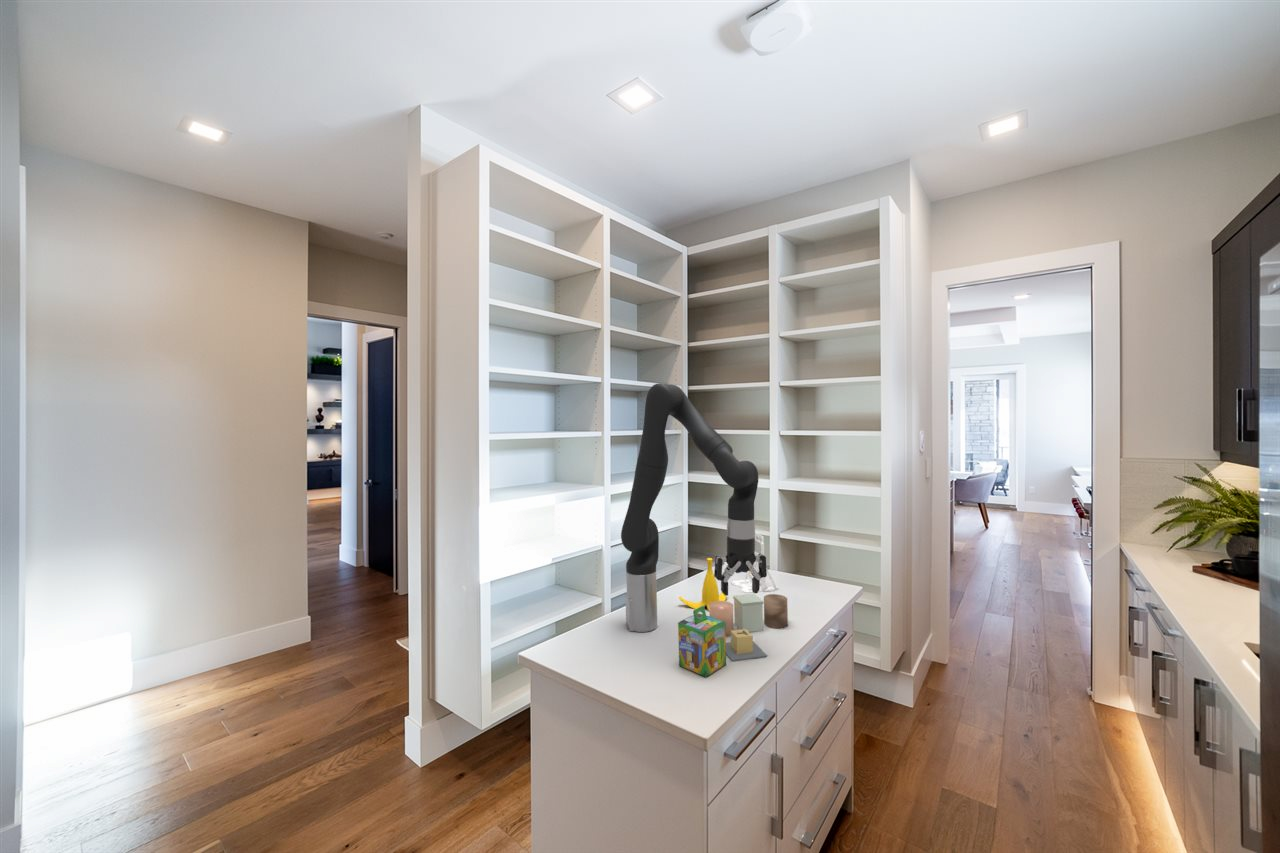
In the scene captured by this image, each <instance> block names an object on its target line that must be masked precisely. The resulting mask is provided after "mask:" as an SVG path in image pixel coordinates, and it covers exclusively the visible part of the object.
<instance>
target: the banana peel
mask: <svg viewBox="0 0 1280 853" xmlns="http://www.w3.org/2000/svg"><path fill="white" fill-rule="evenodd" d="M706 563H707V569H706V574H705V577H704V580H703V584H702V590H701V591H702V592H701V600H700V602H692V601H689V600H686V599H684V598H683V597H681V596H678V599H679V600H680V601H681V603H683V604H685V605H686V606H688V607H689V608H692V609H693V610H695V609H697V608H699V607H701V606H704V608H705V607H706V608H707V610H708V612H709V604H710V603H711V602H714V601H726V600H727V596H728V595H727V596H725V595H724V594H723V593H722V592H721V593H720V592H719V587H718V584H717V579H716V578H715V577H714V572H713V571H714V570H713V558H711V557H707V558H706ZM719 593H720V594H719Z"/></svg>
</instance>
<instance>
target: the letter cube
mask: <svg viewBox="0 0 1280 853" xmlns="http://www.w3.org/2000/svg"><path fill="white" fill-rule="evenodd" d="M753 636H754V635H753V634H751V632H748V631H747V630H746V629H742V630H740V629H736V630H735V629H734V630H733V631H731V636H730V642H731V647H732V649H733V650H734V651H735V652H736V653H737V654H743V653H751V652H753V642H754V640H753V639H754V638H753Z"/></svg>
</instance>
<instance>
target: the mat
mask: <svg viewBox="0 0 1280 853" xmlns="http://www.w3.org/2000/svg"><path fill="white" fill-rule="evenodd" d="M726 657H728V658H729V660H730V661H731V662H739V661H747V660H755V659H763V658H768V654H766V652H765V651H763V649H761V647H759V645H758V644H757V643H755V641H753V652H751V653H743V654H737V653H736V652H735V651H734V650H733V649H732V647H731V641H728V642H726Z"/></svg>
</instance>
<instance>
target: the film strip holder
mask: <svg viewBox="0 0 1280 853" xmlns="http://www.w3.org/2000/svg"><path fill="white" fill-rule="evenodd" d="M755 542H757V543H759V544H760V547H761V548H760V549H761V550H760V553H761V554H763V555H764V556H765V537H764V536H763V535H761V534H759V533H757V532H755ZM760 553H759V552H757V551H755V553H754V554H755V555H758V554H760ZM753 567H754V568H755V570H756V571H757V573H758V572H759V564H758V562H757V561H755V563H754V564H753ZM766 569H767V575H768V577H769V579H770V581H771V584H772V586H770V587H769V586H767V587H766V583H765V582H766V580H765V579H766V577H763V578H761V579H760V589H759V591H758V593H761V592H762V593H768V592H775V591H777V590H779V589H780V588H779V587H778V586H777V585H776V583H775V581H774V580H773V577H772V574H770V572H769V569H768V568H767V566H766ZM745 573H746V576H745V577H746V579H739V580H732V581H731V584H732V585H733V586H735V587H738V588H739V587H740V589H739V590H740V592H741V593H744V594H755V593H754V592H753V591H752V578H753V575H752V574H751V573H750V572H749V571H747V572H745Z"/></svg>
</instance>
